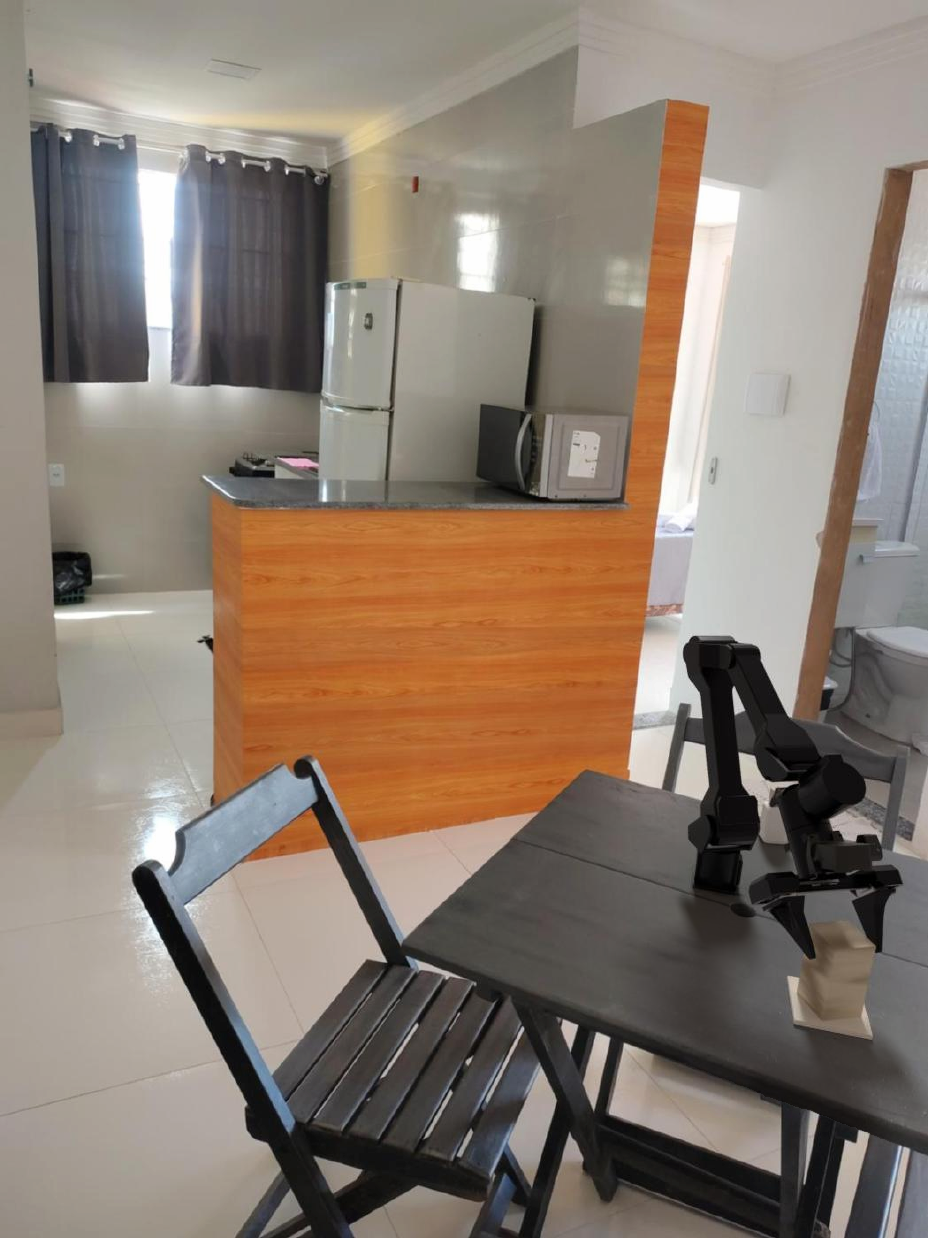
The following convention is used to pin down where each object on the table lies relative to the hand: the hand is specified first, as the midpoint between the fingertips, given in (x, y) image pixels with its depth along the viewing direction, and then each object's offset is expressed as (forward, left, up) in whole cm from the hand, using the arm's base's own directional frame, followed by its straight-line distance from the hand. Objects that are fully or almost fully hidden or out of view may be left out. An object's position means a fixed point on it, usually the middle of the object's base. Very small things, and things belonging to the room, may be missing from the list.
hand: (846, 956), depth 114 cm
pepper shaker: (-4, +46, -9) cm, 47 cm away
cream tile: (-1, +1, -9) cm, 9 cm away
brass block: (-1, +1, -8) cm, 8 cm away
